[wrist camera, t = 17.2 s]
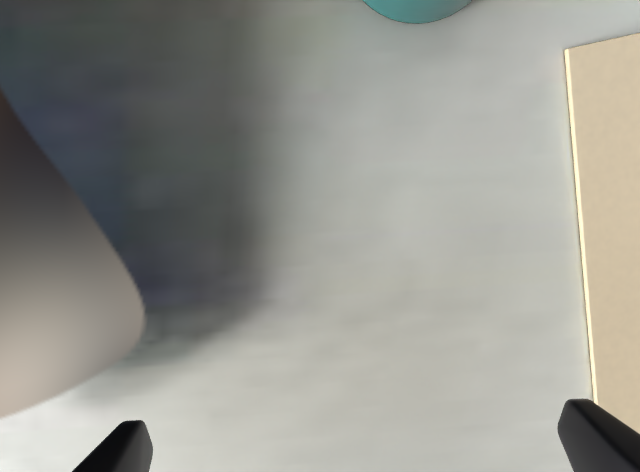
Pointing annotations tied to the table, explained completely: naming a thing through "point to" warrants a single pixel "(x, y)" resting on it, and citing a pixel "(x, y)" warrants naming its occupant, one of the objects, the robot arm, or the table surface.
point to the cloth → (609, 213)
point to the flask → (417, 9)
